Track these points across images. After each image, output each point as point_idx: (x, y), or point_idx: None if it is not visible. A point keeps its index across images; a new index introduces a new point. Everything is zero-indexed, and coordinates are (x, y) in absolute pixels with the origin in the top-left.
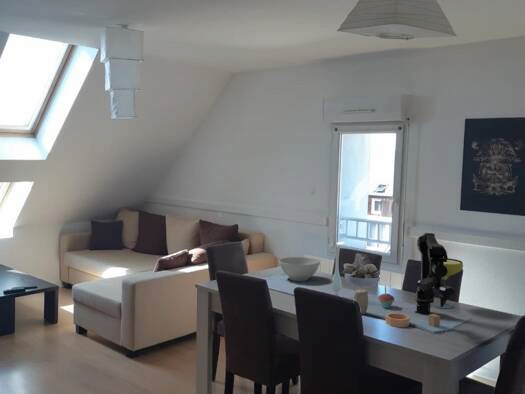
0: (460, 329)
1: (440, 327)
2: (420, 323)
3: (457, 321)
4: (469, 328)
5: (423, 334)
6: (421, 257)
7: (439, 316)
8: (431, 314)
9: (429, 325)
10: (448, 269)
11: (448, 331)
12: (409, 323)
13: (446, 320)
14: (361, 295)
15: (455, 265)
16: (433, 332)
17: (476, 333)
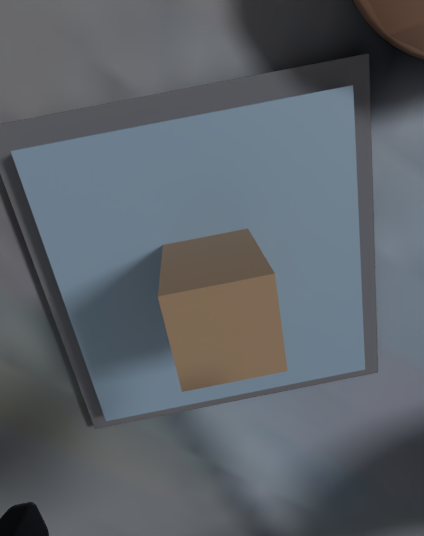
0: (129, 459)
1: (139, 307)
2: (326, 170)
3: (313, 524)
4: (138, 524)
5: (30, 15)
6: None
7: (181, 380)
8: (277, 320)
9: (230, 231)
10: None
11: (60, 335)
12: (386, 30)
13: (365, 469)
14: None
15: None
16: (17, 150)
17: None
